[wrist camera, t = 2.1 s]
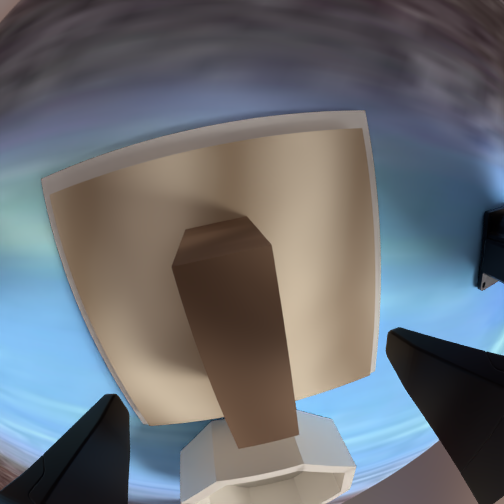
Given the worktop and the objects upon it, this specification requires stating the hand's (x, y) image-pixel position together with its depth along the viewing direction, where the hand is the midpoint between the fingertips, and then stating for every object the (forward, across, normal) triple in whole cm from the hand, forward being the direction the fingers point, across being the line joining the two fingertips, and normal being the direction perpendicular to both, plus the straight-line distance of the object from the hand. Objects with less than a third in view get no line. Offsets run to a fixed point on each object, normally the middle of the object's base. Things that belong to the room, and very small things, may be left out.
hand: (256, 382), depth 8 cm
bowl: (+6, +1, +15) cm, 16 cm away
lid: (+6, 0, 0) cm, 6 cm away
